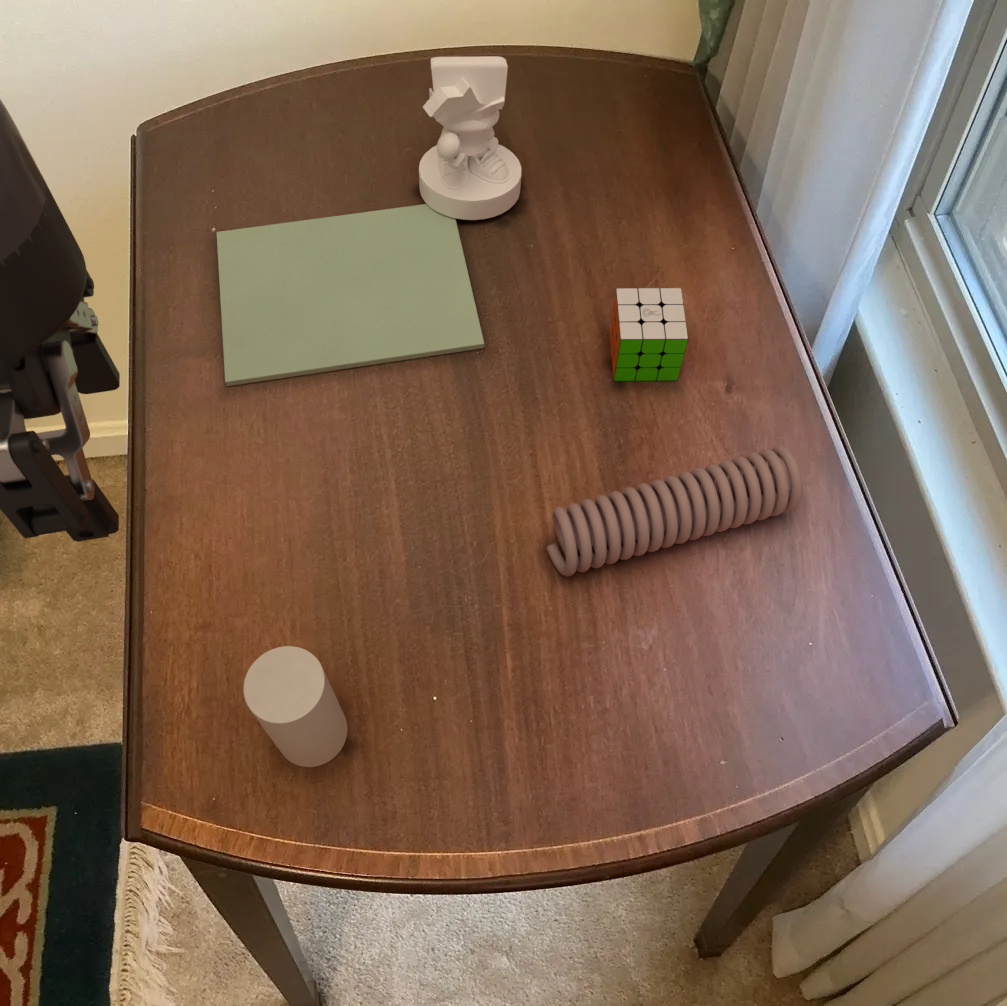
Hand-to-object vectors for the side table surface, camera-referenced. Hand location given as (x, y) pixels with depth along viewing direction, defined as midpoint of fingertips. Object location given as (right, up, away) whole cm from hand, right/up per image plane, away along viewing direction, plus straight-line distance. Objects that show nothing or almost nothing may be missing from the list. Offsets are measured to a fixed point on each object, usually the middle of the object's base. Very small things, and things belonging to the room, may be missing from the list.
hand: (99, 455), depth 48 cm
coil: (+32, -4, +20) cm, 38 cm away
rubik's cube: (+31, +9, +27) cm, 42 cm away
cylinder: (+8, -17, +12) cm, 22 cm away
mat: (+7, +15, +31) cm, 35 cm away
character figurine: (+17, +25, +36) cm, 48 cm away
